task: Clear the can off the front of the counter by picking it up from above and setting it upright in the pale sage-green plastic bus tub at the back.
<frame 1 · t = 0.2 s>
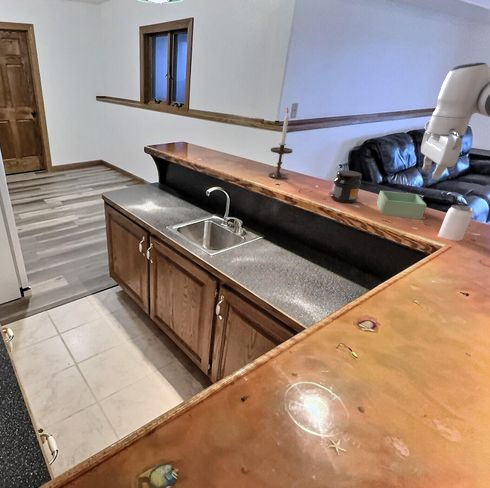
hand: (430, 174, 105), 23 cm above the counter, tool pointing down, fingers open, 8 cm apart
can: (448, 241, 118), on the counter
supplement container: (342, 200, 155), on the counter
candlestick: (277, 177, 187), on the counter
bus tub: (397, 211, 143), on the counter
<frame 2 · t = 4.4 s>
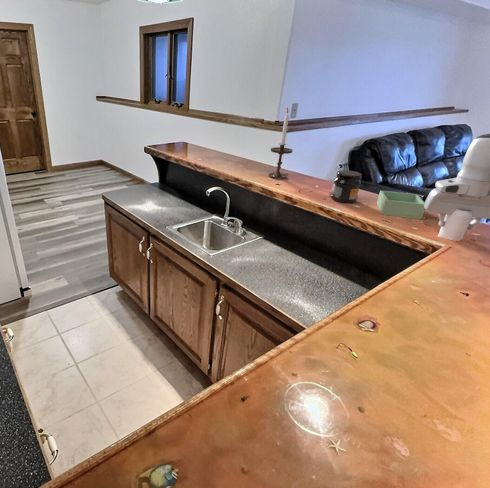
hand: (454, 227, 115), 5 cm above the counter, tool pointing down, fingers closed on can, 6 cm apart
can: (448, 241, 118), on the counter, touching gripper
everything else where it was.
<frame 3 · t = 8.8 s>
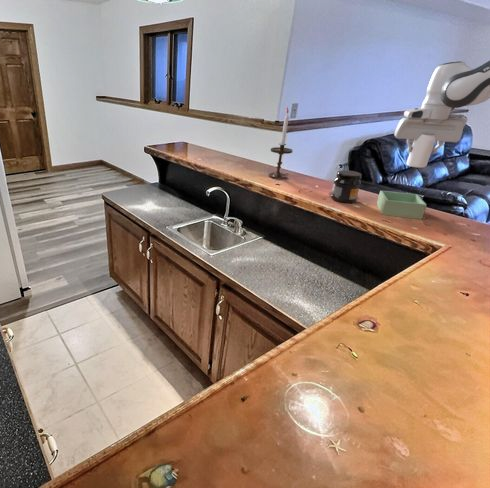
hand: (420, 152, 130), 24 cm above the counter, tool pointing down, fingers closed on can, 6 cm apart
can: (415, 166, 132), point 19 cm above the counter, touching gripper
everything else where it was.
when the fingers open (6 cm above the counter, at t = 13.3 s): can stays where it is, resting on bus tub.
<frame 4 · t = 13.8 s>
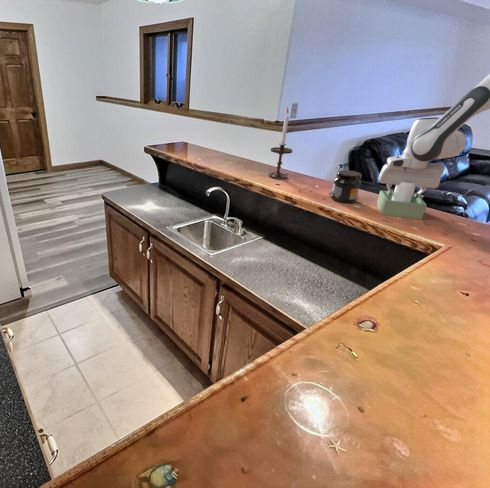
hand: (402, 196, 140), 6 cm above the counter, tool pointing down, fingers open, 8 cm apart
can: (397, 209, 142), point 1 cm above the counter, touching bus tub
everything else where it was.
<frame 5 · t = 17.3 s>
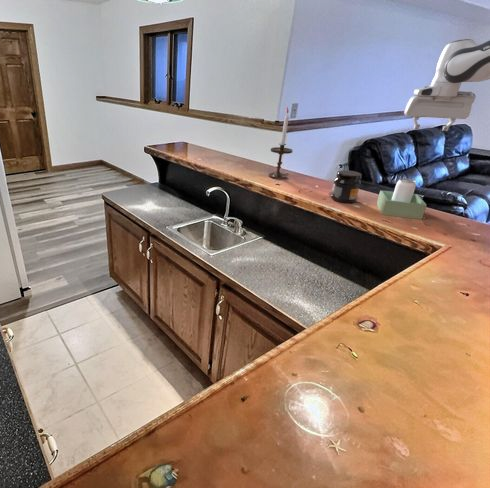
hand: (430, 130, 134), 31 cm above the counter, tool pointing down, fingers open, 8 cm apart
nothing on the counter moved.
at the end: can inside the target area in the bus tub (0.2 cm from its centre), point 0.8 cm above the bus tub's base; can tilted 0°; the gripper is holding nothing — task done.
